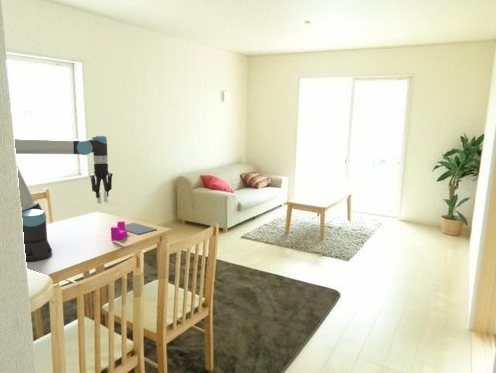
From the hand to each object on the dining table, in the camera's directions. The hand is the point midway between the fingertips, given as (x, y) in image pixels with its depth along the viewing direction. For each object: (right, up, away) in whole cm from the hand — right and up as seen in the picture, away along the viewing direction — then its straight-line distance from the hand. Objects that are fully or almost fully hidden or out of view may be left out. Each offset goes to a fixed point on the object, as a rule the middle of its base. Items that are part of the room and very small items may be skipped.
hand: (102, 202), depth 213 cm
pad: (+13, -18, +21) cm, 30 cm away
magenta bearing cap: (+9, -21, +5) cm, 23 cm away
